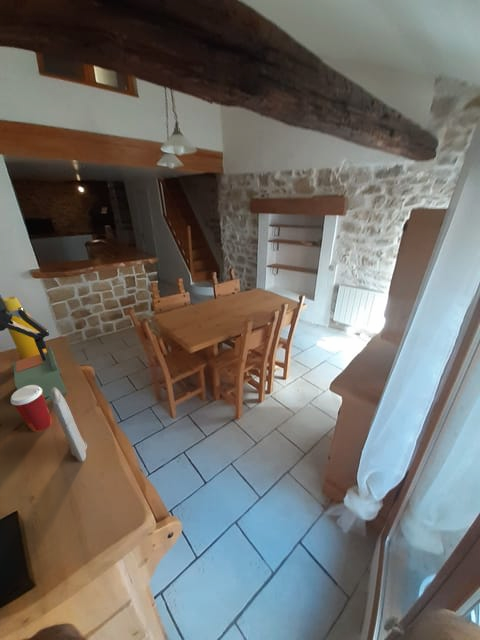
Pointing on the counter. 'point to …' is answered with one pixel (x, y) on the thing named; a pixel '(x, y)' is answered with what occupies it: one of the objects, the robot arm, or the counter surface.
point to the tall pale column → (68, 425)
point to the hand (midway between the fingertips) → (14, 367)
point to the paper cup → (32, 407)
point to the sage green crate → (39, 373)
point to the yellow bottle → (21, 341)
